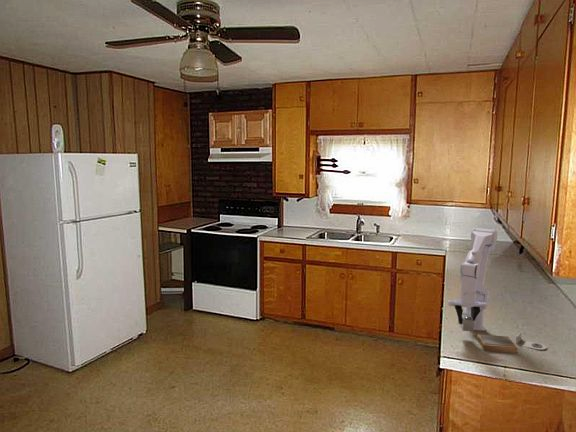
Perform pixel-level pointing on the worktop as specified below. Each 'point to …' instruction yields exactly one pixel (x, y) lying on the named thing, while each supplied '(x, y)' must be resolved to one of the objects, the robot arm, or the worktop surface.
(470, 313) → the robot arm
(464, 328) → the housing
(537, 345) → the bracket
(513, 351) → the stand
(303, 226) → the worktop surface
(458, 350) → the worktop surface
